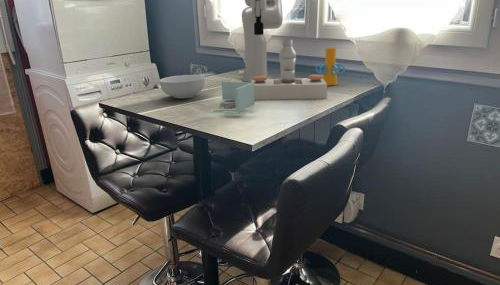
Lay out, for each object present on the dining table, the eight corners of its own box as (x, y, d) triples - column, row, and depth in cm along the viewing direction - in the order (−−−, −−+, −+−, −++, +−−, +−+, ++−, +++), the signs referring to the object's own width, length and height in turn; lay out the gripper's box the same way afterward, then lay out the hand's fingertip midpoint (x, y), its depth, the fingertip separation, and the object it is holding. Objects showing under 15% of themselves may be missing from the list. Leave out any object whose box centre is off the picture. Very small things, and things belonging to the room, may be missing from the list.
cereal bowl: (188, 90, 160) (187, 73, 158) (214, 95, 149) (213, 76, 147) (152, 97, 149) (150, 79, 147) (177, 103, 138) (175, 83, 136)
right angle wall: (223, 102, 137) (222, 81, 135) (254, 104, 132) (254, 82, 130) (206, 110, 127) (204, 87, 125) (238, 112, 122) (237, 89, 120)
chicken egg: (252, 93, 143) (252, 78, 141) (253, 90, 148) (253, 76, 146) (267, 92, 142) (266, 77, 141) (267, 90, 147) (267, 75, 145)
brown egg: (309, 92, 141) (309, 76, 140) (307, 89, 146) (308, 74, 145) (323, 91, 141) (323, 76, 139) (321, 89, 146) (322, 74, 144)
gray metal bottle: (296, 93, 148) (296, 39, 142) (296, 96, 141) (296, 40, 135) (279, 93, 149) (278, 39, 142) (278, 96, 142) (278, 40, 136)
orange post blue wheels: (345, 82, 165) (347, 46, 161) (343, 87, 156) (344, 49, 151) (317, 82, 169) (318, 46, 165) (312, 86, 160) (313, 49, 155)
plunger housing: (250, 99, 139) (250, 85, 137) (252, 92, 152) (252, 79, 151) (326, 98, 137) (327, 84, 136) (321, 90, 151) (322, 77, 149)
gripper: (268, -24, 125) (269, 35, 131) (268, -20, 139) (269, 33, 145) (245, -23, 126) (247, 36, 131) (248, -19, 140) (249, 34, 146)
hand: (258, 34), depth 138 cm, fingers closed
